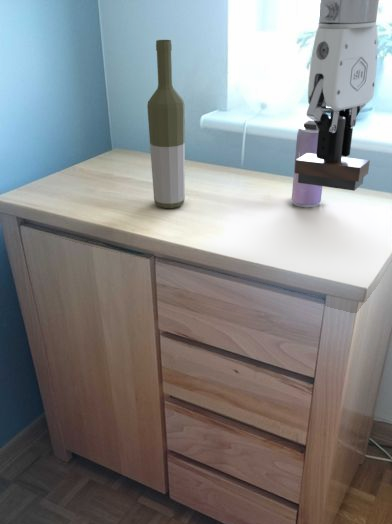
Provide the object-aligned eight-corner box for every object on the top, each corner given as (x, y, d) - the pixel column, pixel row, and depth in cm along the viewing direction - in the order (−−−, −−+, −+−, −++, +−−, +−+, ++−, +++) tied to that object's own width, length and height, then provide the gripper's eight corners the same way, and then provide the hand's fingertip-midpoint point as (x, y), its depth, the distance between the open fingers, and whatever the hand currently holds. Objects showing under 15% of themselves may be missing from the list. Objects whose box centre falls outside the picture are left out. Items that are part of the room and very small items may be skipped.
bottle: (193, 205, 115) (191, 40, 99) (165, 213, 112) (158, 43, 95) (173, 196, 120) (168, 37, 103) (146, 203, 117) (136, 40, 100)
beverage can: (324, 201, 117) (333, 125, 108) (313, 210, 112) (322, 132, 104) (298, 196, 119) (305, 122, 111) (286, 204, 115) (292, 128, 107)
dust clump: (323, 126, 108) (323, 121, 108) (318, 129, 106) (319, 125, 105) (308, 124, 109) (308, 120, 109) (303, 128, 107) (303, 123, 107)
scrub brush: (366, 183, 85) (375, 117, 80) (357, 192, 82) (365, 123, 77) (305, 175, 90) (310, 112, 84) (293, 183, 86) (298, 117, 81)
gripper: (334, 18, 67) (320, 173, 77) (406, 11, 76) (384, 150, 86) (285, 17, 71) (278, 163, 82) (358, 10, 80) (343, 143, 90)
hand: (333, 155), depth 84 cm, fingers closed on scrub brush, 2 cm apart
